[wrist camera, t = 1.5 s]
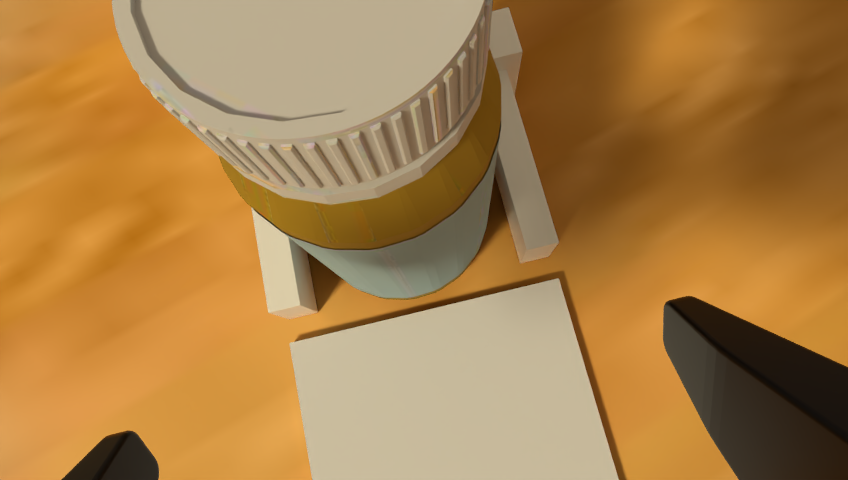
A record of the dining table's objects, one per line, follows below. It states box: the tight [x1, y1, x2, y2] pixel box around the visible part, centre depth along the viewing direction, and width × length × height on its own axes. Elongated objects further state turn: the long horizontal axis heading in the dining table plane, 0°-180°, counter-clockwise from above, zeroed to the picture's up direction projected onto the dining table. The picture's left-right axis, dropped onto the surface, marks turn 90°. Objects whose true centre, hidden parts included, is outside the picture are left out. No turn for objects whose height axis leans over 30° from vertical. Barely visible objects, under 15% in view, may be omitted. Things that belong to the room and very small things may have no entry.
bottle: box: [112, 0, 501, 300], centre depth 16 cm, size 7×7×15 cm
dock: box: [252, 7, 559, 319], centre depth 22 cm, size 9×12×4 cm
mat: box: [290, 278, 619, 480], centre depth 21 cm, size 11×11×1 cm
